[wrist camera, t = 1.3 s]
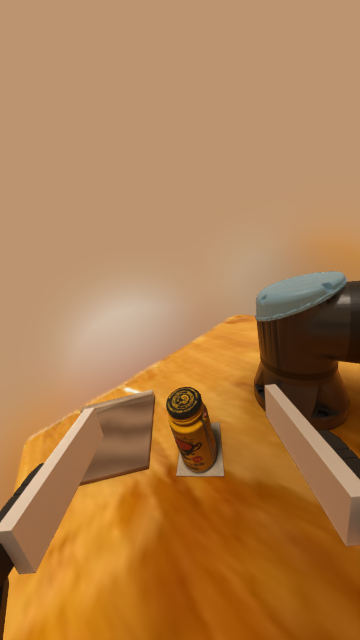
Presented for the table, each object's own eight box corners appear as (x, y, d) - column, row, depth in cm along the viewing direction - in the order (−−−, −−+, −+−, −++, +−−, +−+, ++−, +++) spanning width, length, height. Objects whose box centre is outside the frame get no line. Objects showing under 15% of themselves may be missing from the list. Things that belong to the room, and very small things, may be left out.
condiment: (176, 476, 26) (154, 420, 22) (182, 425, 34) (167, 377, 30) (224, 477, 25) (210, 417, 21) (219, 423, 33) (208, 372, 29)
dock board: (148, 468, 28) (144, 459, 27) (44, 494, 28) (37, 486, 28) (155, 396, 43) (152, 389, 42) (87, 413, 43) (83, 406, 43)
